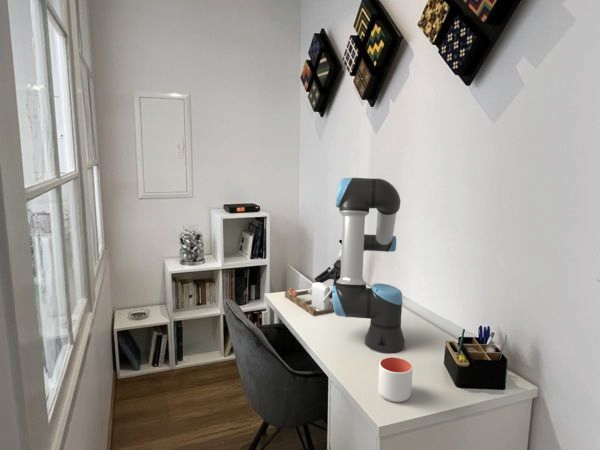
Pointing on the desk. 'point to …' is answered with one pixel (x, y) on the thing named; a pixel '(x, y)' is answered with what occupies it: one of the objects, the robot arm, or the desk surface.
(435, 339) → the desk surface
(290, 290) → the wooden stand frame
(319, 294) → the photo printer
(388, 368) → the cup
